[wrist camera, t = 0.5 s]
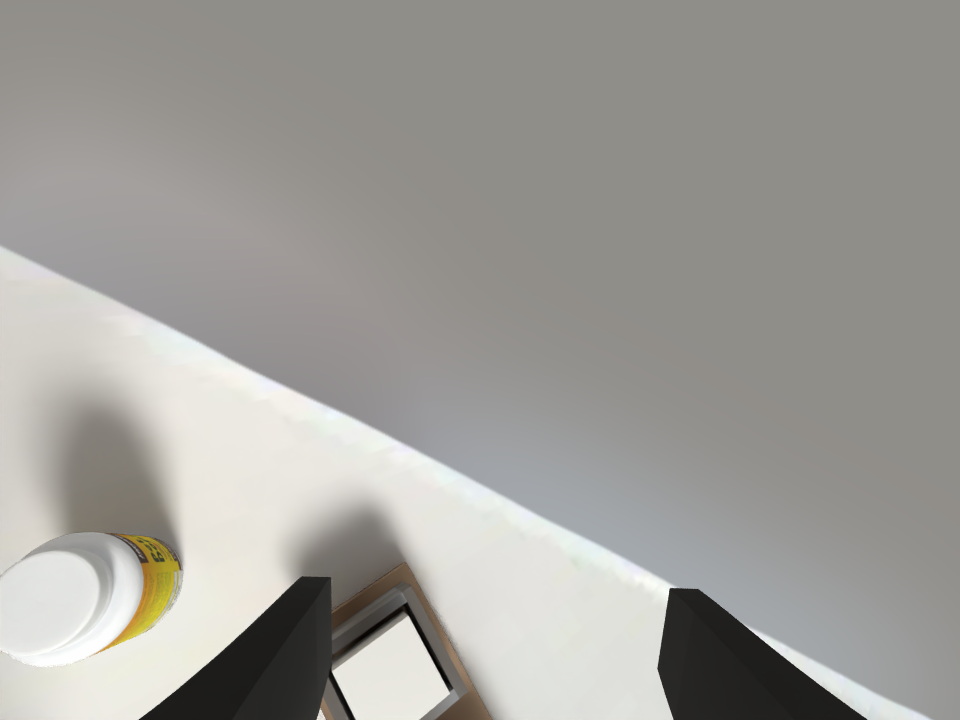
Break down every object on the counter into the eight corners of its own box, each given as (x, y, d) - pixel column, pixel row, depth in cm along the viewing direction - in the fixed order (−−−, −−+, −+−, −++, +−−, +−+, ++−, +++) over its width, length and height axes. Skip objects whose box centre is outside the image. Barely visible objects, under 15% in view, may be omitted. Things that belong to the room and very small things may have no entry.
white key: (370, 739, 26) (374, 756, 24) (331, 661, 27) (331, 671, 24) (440, 682, 28) (450, 693, 26) (402, 610, 29) (408, 615, 26)
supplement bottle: (203, 551, 31) (149, 551, 22) (154, 650, 28) (70, 698, 19) (111, 523, 30) (14, 512, 21) (53, 623, 28) (-85, 659, 18)
